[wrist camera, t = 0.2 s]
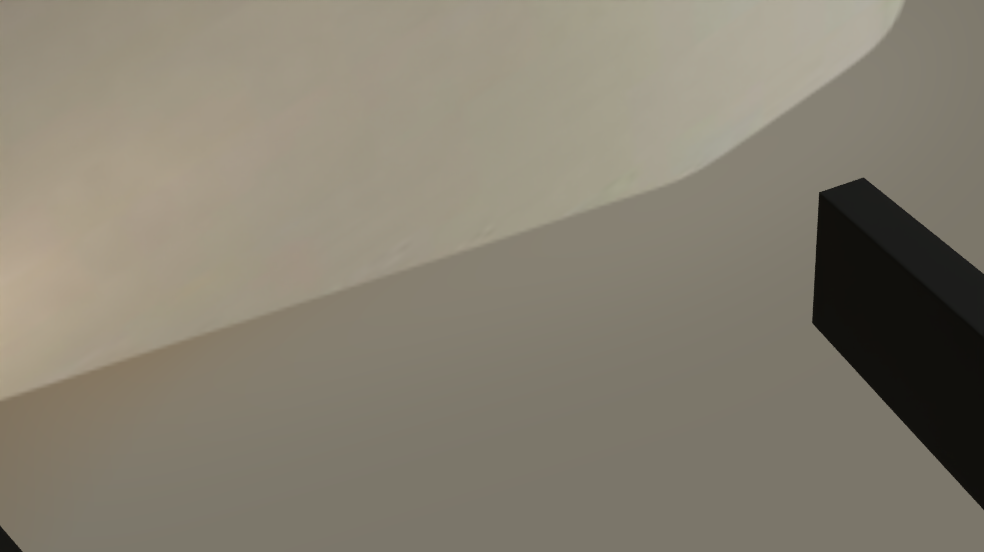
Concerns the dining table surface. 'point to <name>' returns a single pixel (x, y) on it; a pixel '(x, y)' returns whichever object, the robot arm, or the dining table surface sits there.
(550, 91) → the dining table surface
